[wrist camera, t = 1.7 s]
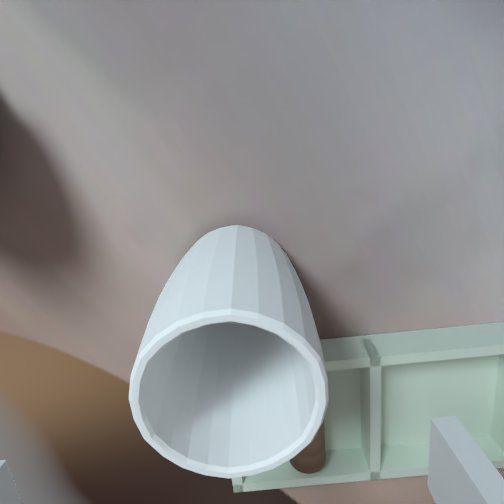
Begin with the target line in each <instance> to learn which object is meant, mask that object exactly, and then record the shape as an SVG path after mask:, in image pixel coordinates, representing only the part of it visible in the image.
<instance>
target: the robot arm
mask: <svg viewBox="0 0 504 504" xmlns="http://www.w3.org/2000/svg"><path fill="white" fill-rule="evenodd" d="M427 487H428V489H429V491H430V493H431V495H432V497H433V499H434V501H435V503H436V504H504V478H503V477H502V476H501V474H500V473H499V472H498V471H497V469H496V468H495V467H494V465H493V464H492V463H491V461H490V460H489V459H488V457H487V456H486V455H485V453H484V452H483V451H482V449H481V448H480V447H479V446H478V444H477V443H476V442H475V440H474V439H473V438H472V436H471V435H470V434H469V432H468V431H467V430H466V428H465V427H464V426H463V424H462V423H461V422H460V421H459V419H458V418H457V417H456V416H450V417H440V418H431V427H430V446H429V465H428V484H427ZM0 504H23V503H22V500H21V498H20V495H19V492H18V490H17V487H16V485H15V482H14V479H13V477H12V474H11V471H10V469H9V466H8V463H7V461H6V460H0Z"/></svg>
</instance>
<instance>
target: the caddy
mask: <svg viewBox="0 0 504 504" xmlns="http://www.w3.org/2000/svg"><path fill="white" fill-rule="evenodd" d="M320 343H321V347H322V353H323V358H324V363H325V368H326V373H327V379H328V397H329V402H328V406H327V409H326V413H325V416H324V429H325V449H326V463H325V465H324V467H323V468H322V469H321V470H320V471H318V472H316V473H312V474H305V473H301V472H299V471H297V470H296V469H294V468H293V466H292V465H291V463H290V460H288V461H286V462H285V463H283V464H281V465H279V466H278V467H276V468H274V469H271V470H268V471H264V472H261V473H258V474H255V475H251V476H243V477H235V478H232V483H233V489H234V492H245V491H256V490H267V489H278V488H289V487H300V486H311V485H322V484H333V483H344V482H355V481H366V480H377V479H388V478H399V477H409V476H420V475H428V465H429V446H430V427H431V418H440V417H450V416H456V417H457V418H458V419H459V421H460V422H461V423H462V424H463V426H464V427H465V428H466V430H467V431H468V432H469V434H470V435H471V436H472V438H473V439H474V440H475V442H476V443H477V444H478V446H479V447H480V448H481V449H482V451H483V452H484V453H485V455H486V456H487V457H488V459H489V460H490V461H491V463H492V464H493V465H494V467H495V468H496V469H497V468H504V322H497V323H487V324H477V325H466V326H456V327H446V328H435V329H425V330H415V331H404V332H394V333H384V334H374V335H363V336H353V337H343V338H332V339H322V340H320Z"/></svg>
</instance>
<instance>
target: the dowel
mask: <svg viewBox="0 0 504 504" xmlns="http://www.w3.org/2000/svg"><path fill="white" fill-rule="evenodd" d="M290 463H291V465H292V466H293V468H294V469H296V470H297V471H299V472H301V473H305V474H312V473H316V472H318V471H320V470H321V469H322V468H323V467H324V465H325V463H326V449H325V429H324V420H323V423H322V425H321V427H320V428H319V430H318V432H317V434H316V435H315V437H314V439H313V441H312V442H311V443H310V444H308V445H307V446H306V447H305V448H304V449H303V450H301V451H300V452H299V453H298V454H297V455H296V456H295V457H293V458H292V459H290Z"/></svg>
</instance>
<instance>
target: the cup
mask: <svg viewBox="0 0 504 504" xmlns="http://www.w3.org/2000/svg"><path fill="white" fill-rule="evenodd" d="M129 402H130V405H131V410H132V414H133V418H134V421H135V422H136V424H137V426H138V428H139V430H140V432H141V434H142V436H143V438H144V439H145V440H146V441H147V442H148V443H149V444H150V445H151V446H152V447H153V448H154V449H155V450H157V451H158V452H159V453H160V454H161V455H162V456H164V457H165V458H167V459H168V460H170V461H172V462H173V463H175V464H177V465H179V466H180V467H182V468H184V469H188V470H191V471H194V472H197V473H200V474H203V475H208V476H215V477H222V478H235V477H243V476H251V475H255V474H258V473H261V472H264V471H268V470H271V469H274V468H276V467H278V466H279V465H281V464H283V463H285V462H286V461H288V460H290V459H292V458H293V457H295V456H296V455H297V454H298V453H299V452H300V451H301V450H303V449H304V448H305V447H306V446H307V445H308V444H310V443H311V442H312V441H313V439H314V437H315V435H316V434H317V432H318V430H319V428H320V427H321V425H322V423H323V420H324V416H325V413H326V409H327V406H328V402H329V397H328V379H327V373H326V368H325V363H324V358H323V353H322V347H321V343H320V339H319V336H318V332H317V329H316V325H315V322H314V318H313V315H312V312H311V309H310V305H309V302H308V299H307V297H306V294H305V292H304V289H303V287H302V284H301V282H300V280H299V277H298V275H297V273H296V271H295V269H294V267H293V265H292V263H291V262H290V260H289V258H288V257H287V255H286V253H285V252H284V251H283V250H282V248H281V247H280V246H279V245H278V243H277V242H275V241H274V240H273V239H272V238H270V237H269V236H268V235H267V234H265V233H263V232H261V231H258V230H256V229H254V228H250V227H245V226H240V225H234V226H227V227H222V228H219V229H216V230H214V231H211V232H209V233H207V234H206V235H205V236H203V237H202V238H200V239H199V240H198V241H197V242H196V243H195V244H194V245H193V246H192V247H191V249H190V250H189V251H188V252H187V253H186V255H185V256H184V257H183V258H182V260H181V261H180V263H179V264H178V265H177V267H176V268H175V270H174V272H173V273H172V275H171V277H170V278H169V280H168V281H167V283H166V285H165V287H164V289H163V291H162V293H161V294H160V296H159V298H158V301H157V303H156V305H155V308H154V310H153V313H152V315H151V317H150V320H149V322H148V325H147V328H146V331H145V334H144V336H143V339H142V342H141V345H140V348H139V351H138V354H137V358H136V361H135V364H134V367H133V370H132V373H131V377H130V389H129Z"/></svg>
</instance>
